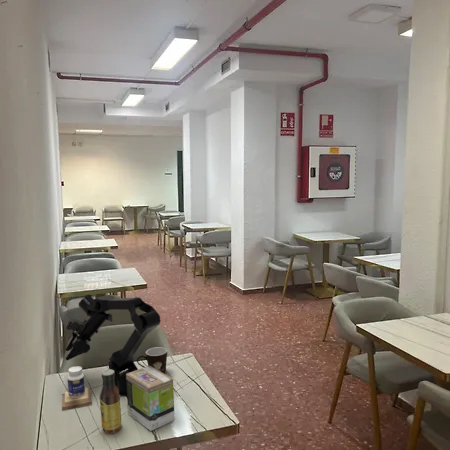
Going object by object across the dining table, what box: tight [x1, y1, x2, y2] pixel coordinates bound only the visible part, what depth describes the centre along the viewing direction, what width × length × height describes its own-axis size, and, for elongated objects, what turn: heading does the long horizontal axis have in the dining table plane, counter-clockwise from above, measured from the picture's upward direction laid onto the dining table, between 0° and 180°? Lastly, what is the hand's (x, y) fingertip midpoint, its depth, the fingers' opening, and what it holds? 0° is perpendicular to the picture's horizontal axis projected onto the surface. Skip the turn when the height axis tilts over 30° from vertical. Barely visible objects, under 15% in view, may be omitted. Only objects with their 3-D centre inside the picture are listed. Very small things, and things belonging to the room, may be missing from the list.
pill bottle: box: [67, 365, 86, 398], centre depth 159 cm, size 6×6×10 cm
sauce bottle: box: [99, 368, 122, 435], centre depth 140 cm, size 6×6×20 cm
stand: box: [61, 387, 93, 411], centre depth 160 cm, size 10×10×2 cm
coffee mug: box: [136, 346, 168, 375], centre depth 179 cm, size 12×9×10 cm
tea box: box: [126, 365, 176, 432], centre depth 147 cm, size 15×10×15 cm, turn 41°
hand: (66, 354), depth 168 cm, fingers open, 9 cm apart
